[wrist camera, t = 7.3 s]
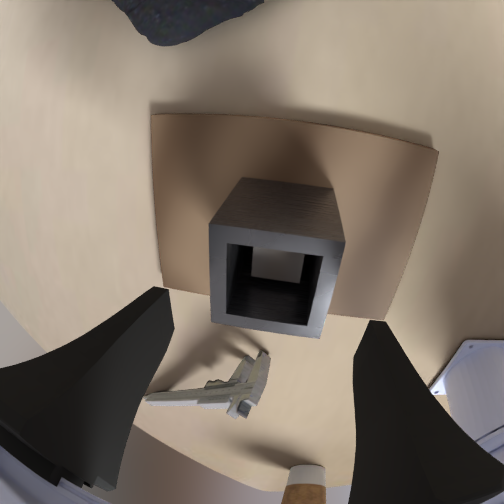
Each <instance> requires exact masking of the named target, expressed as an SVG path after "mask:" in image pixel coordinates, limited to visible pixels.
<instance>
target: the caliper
mask: <svg viewBox="0 0 504 504" xmlns="http://www.w3.org/2000/svg"><path fill="white" fill-rule="evenodd" d="M270 360H271V358H270V357H269V356H268V355H267V354H265V353H264V352H263V351H262V350H260V351H259V353H258V356H257V358H256V360H254V359H253V358H251V357H250V356H249V355H248V356H245V357H244V358H243V360H242V361H241V363H240V364H239V366H238V367H237V369H236V370H235V372H234V373H233V375H232V376H231V378H230V379H229V381H228V382H224V381H222V380H219V379H217V380H215V381H208V382H207V383H206V385H205V387H204V388H198V389H189V390H179V391H166V392H154V393H151V394H149V395H148V396H144V399H145V402H147V403H148V404H150V405H151V406H201V407H202V408H204V409H228V410H227V412H226V413H227V414H228V415H230V416H231V417H233V418H235V419H236V418H237V417H238V416H239V415H241V416H242V417H244V418H247V416H248V414H249V411H250V409H251V406H257V404H258V402H259V400H260V397H261V395H262V393H263V390H264V388H265V386H266V382H267V377H268V372H269V366H270Z"/></svg>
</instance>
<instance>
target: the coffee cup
mask: <svg viewBox="0 0 504 504" xmlns="http://www.w3.org/2000/svg"><path fill="white" fill-rule="evenodd" d="M281 504H326V487H325V468H324V467H322V466H318V465H297V466H293V467H291V469H290V473H289V477H288V481H287V486H286V488H285V492H284V496H283V499H282V503H281Z"/></svg>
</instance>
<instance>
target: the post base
mask: <svg viewBox="0 0 504 504" xmlns="http://www.w3.org/2000/svg"><path fill="white" fill-rule="evenodd" d="M151 142H152V168H153V186H154V201H155V214H156V225H157V235H158V245H159V254H160V262H161V270H162V278H163V286H164V287H167V288H172V289H177V290H182V291H188V292H193V293H198V294H204V295H209V296H210V275H209V222H210V221H211V219H212V218H213V217H214V215H215V214H216V212H217V211H218V209H219V208H220V207H221V205H222V204H223V202H224V201H225V200H226V198H227V197H228V195H229V194H230V193H231V191H232V190H233V188H234V187H235V186H236V184H237V183H238V182H239V180H240V179H241V177H247V178H257V179H266V180H274V181H282V182H290V183H298V184H305V185H312V186H319V187H326V188H332V189H334V192H335V196H336V200H337V204H338V208H339V213H340V217H341V222H342V226H343V231H344V236H345V241H346V244H345V248H344V252H343V256H342V260H341V264H340V268H339V272H338V276H337V280H336V284H335V287H334V291H333V295H332V298H331V302H330V305H329V309H328V312H327V314H333V315H341V316H350V317H358V318H367V319H376V320H384V319H385V316H386V314H387V312H388V310H389V307H390V305H391V303H392V300H393V298H394V295H395V293H396V291H397V288H398V286H399V283H400V281H401V278H402V275H403V273H404V270H405V267H406V265H407V262H408V259H409V256H410V254H411V251H412V248H413V245H414V242H415V239H416V236H417V233H418V230H419V227H420V223H421V220H422V217H423V214H424V210H425V207H426V203H427V200H428V196H429V192H430V188H431V184H432V180H433V176H434V172H435V168H436V164H437V159H438V154H439V151H437V150H435V149H433V148H429V147H426V146H422V145H419V144H415V143H411V142H407V141H403V140H399V139H395V138H391V137H387V136H383V135H378V134H374V133H369V132H364V131H359V130H354V129H348V128H343V127H337V126H331V125H325V124H318V123H312V122H304V121H297V120H288V119H279V118H269V117H258V116H244V115H227V114H192V113H175V114H155V115H151ZM250 247H253V246H250ZM305 255H310V254H303V253H296V252H289V251H282V250H275V249H268V248H260V247H253V260H252V273H251V276H254V277H260V278H267V279H273V280H280V281H287V282H294V283H299V282H300V277H301V272H302V267H303V261H304V256H305Z"/></svg>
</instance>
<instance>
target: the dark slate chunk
mask: <svg viewBox="0 0 504 504" xmlns="http://www.w3.org/2000/svg"><path fill="white" fill-rule="evenodd" d="M112 1H113V2H114V3H115V4H116V6H117V7H118V8H119V9H120V10H122V11H123V12H125V13H126V15H127V16H128V18H129V19H130V21H131V22H132V24H133V25H134V27H135V28H136V30H137V31H138V32H139V33H140V34H141V35H144V36H146V37H147V39H148V40H149V41H150V42H151V43H152V44H155V45H159V46H173V45H177V44H180V43H183V42H187V41H189V40H191V39H193V38H195V37H197V36H198V35H200V34H201V33H203V32H204V31H206V30H208V29H209V28H211V27H214V26H216V25H218V24H220V23H221V22H224V21H226V20H229V19H231V18H235V17H240V16H242V15H243V14H244V13H245V12H247V11H250V10H252V9H254V8H255V7H256V6H257V5H259V4H261V3H264V0H112Z"/></svg>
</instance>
